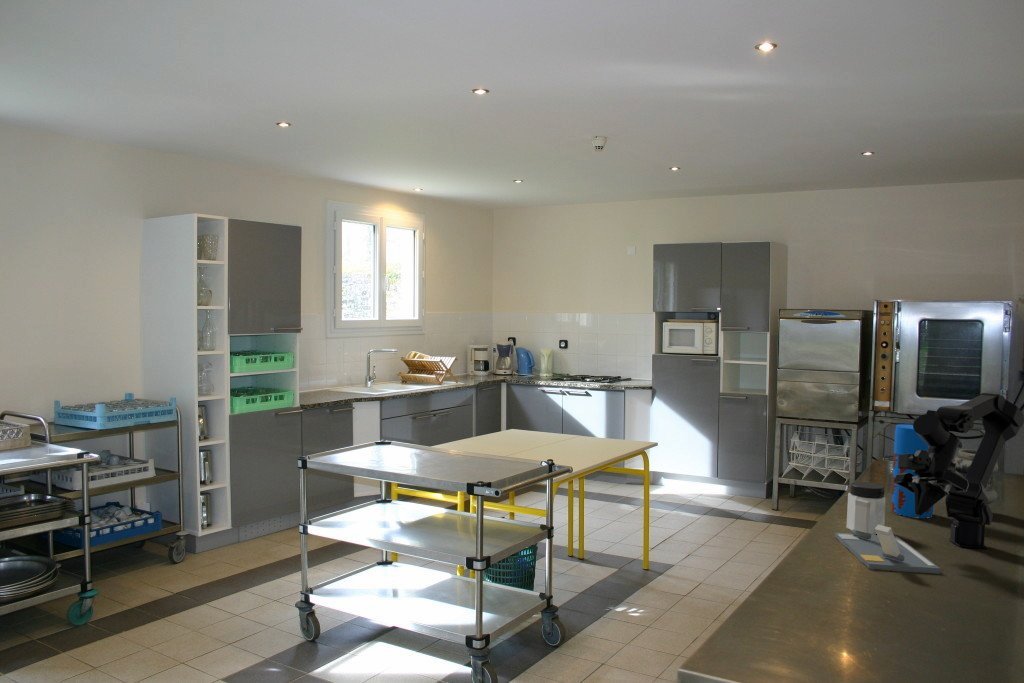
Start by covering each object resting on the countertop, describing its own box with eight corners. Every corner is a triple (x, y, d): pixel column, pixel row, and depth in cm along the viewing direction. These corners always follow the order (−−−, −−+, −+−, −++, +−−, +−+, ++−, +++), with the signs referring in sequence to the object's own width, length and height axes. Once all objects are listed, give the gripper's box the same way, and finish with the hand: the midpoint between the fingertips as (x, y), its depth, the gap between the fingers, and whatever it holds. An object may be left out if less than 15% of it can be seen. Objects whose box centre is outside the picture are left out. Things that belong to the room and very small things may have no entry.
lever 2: (886, 553, 179) (875, 523, 176) (905, 558, 176) (894, 528, 173) (883, 557, 179) (871, 528, 176) (901, 563, 175) (890, 533, 172)
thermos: (929, 511, 229) (934, 426, 228) (936, 520, 219) (941, 431, 218) (888, 507, 233) (892, 423, 232) (893, 516, 222) (897, 428, 222)
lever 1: (854, 534, 196) (856, 498, 196) (871, 538, 193) (873, 502, 192) (851, 535, 196) (853, 499, 195) (867, 539, 192) (869, 503, 192)
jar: (869, 536, 200) (871, 490, 200) (840, 528, 207) (843, 483, 207) (889, 532, 205) (891, 486, 205) (860, 524, 212) (863, 480, 211)
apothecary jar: (951, 514, 226) (954, 452, 226) (945, 505, 237) (949, 446, 237) (1000, 520, 222) (1003, 456, 221) (992, 510, 233) (995, 450, 232)
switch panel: (897, 541, 197) (897, 535, 197) (940, 573, 172) (940, 567, 172) (835, 537, 199) (835, 531, 199) (868, 569, 174) (869, 562, 174)
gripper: (886, 442, 195) (864, 498, 191) (937, 434, 177) (914, 497, 173) (925, 464, 195) (903, 520, 191) (979, 459, 177) (957, 521, 173)
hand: (917, 514), depth 182 cm, fingers closed
